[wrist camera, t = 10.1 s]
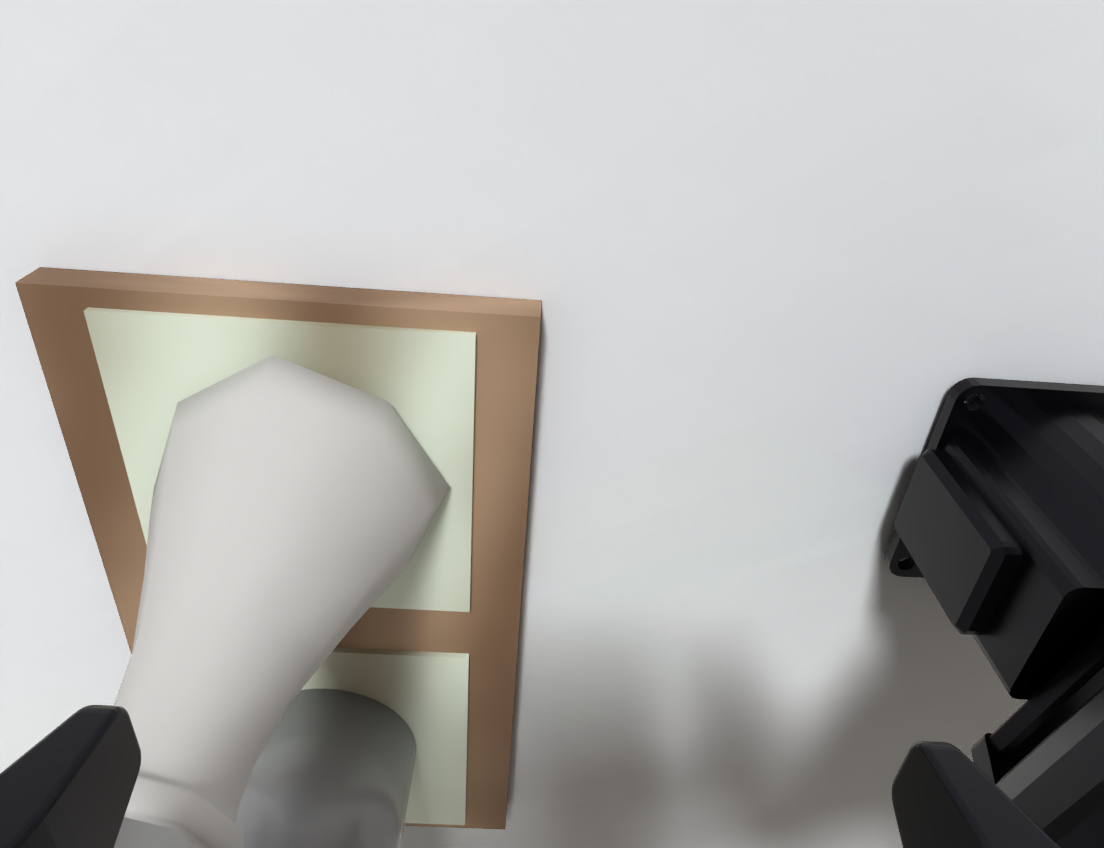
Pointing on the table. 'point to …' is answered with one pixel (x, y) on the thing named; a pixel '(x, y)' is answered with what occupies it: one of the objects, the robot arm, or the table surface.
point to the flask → (257, 579)
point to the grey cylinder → (331, 776)
